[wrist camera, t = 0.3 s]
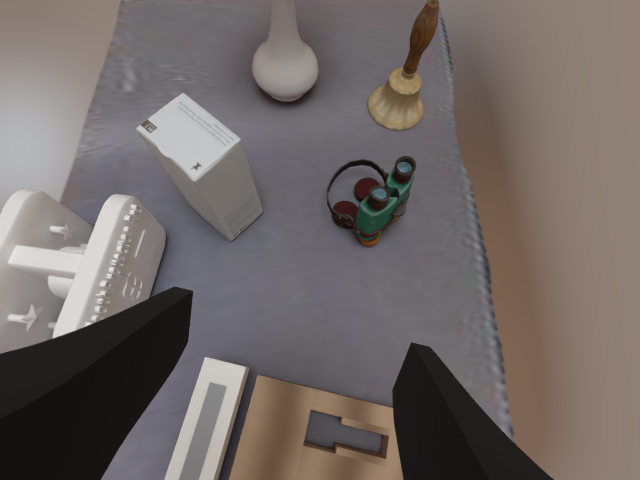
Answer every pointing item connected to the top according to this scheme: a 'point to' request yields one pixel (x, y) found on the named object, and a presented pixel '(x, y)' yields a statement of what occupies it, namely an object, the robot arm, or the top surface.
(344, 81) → the top surface
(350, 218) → the binoculars
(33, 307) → the white rounded box
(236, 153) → the skincare box
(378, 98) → the hand bell
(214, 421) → the white rectangular block
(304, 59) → the flower vase
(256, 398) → the keyhole board
